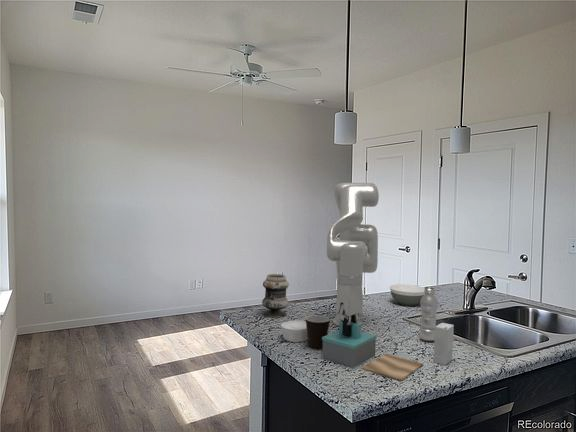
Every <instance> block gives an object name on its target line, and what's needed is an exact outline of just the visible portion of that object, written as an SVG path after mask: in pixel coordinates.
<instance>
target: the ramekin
mask: <svg viewBox="0 0 576 432" xmlns="http://www.w3.org/2000/svg"><path fill="white" fill-rule="evenodd" d="M280 328H281V331H282V333H281V334H282V337H283V339H284V340H285V341H287V342H290V343H302V342H305V341H308V338H307V327H306V321H305V320H289V321H284V322H282V323H281V324H280Z"/></svg>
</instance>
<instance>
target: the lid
mask: <svg viewBox="0 0 576 432" xmlns="http://www.w3.org/2000/svg"><path fill="white" fill-rule="evenodd" d="M350 325H352V330H351V337H348V336H344V335H342V328H343V324H342V321H339V326H338V330H336V331H334V332H332V333H328V335H326V336H324V337H322V340H323V341H327V342H330V343H334V344H337V345H341V346H344V347H348V348H351V349H356V348H358V347H360V346H362V345H364V344H366V343H368V342H370V341H372V340H374V339H377V334H372V333H369V332H365V331H362V329H361V328H362V325H361V324H357V323H353V322H351V323H350Z"/></svg>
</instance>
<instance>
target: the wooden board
mask: <svg viewBox="0 0 576 432" xmlns="http://www.w3.org/2000/svg"><path fill="white" fill-rule="evenodd" d="M423 366H424V363H423V362H417V361H414V360H412V359H407V358H403V357H400V356H396V355H393V354H389V353H385V354H383V355H381V356H379V357H378V358H376V359H374V360H372V361H371V362H369V363H367V364H365V365H364V366H361V370H364V371H367V372H370V373H373V374H376V375H379V376H382V377H386V378H388V379H391V380H395V381H398V382H402V381H404V380H406V379H407V378H408V377H409V376H411V375H412V374H414V373H415V372H417V371H418V370H419V369H421V368H422V367H423Z"/></svg>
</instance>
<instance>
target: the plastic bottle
mask: <svg viewBox="0 0 576 432" xmlns="http://www.w3.org/2000/svg"><path fill="white" fill-rule="evenodd" d="M424 288H425V291H424V293H425V295H424V296H423V297H422V298H421V301H420V303H419V304H420V310H421V312H420V314H421V318H420V327H419V332H418V333H419V334H418V335H419V337H420V339H421V340H422V341H426V342H435V327H436V326H437V312H438V306H439V302H438V299H437V297H436V295H435V294H436V291H435V290H436V289H435V288H434V287H431V286H426V287H425V286H424Z"/></svg>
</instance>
